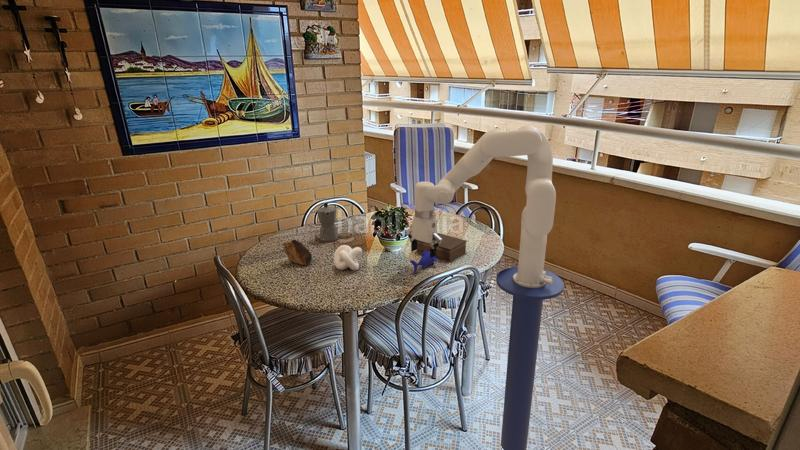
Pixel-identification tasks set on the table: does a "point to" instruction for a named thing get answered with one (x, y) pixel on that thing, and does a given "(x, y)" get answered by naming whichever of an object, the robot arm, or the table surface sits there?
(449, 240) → the walnut box
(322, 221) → the coffeepot
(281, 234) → the table surface
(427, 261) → the fish toy
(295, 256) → the decorative rock
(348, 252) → the white knot ornament
